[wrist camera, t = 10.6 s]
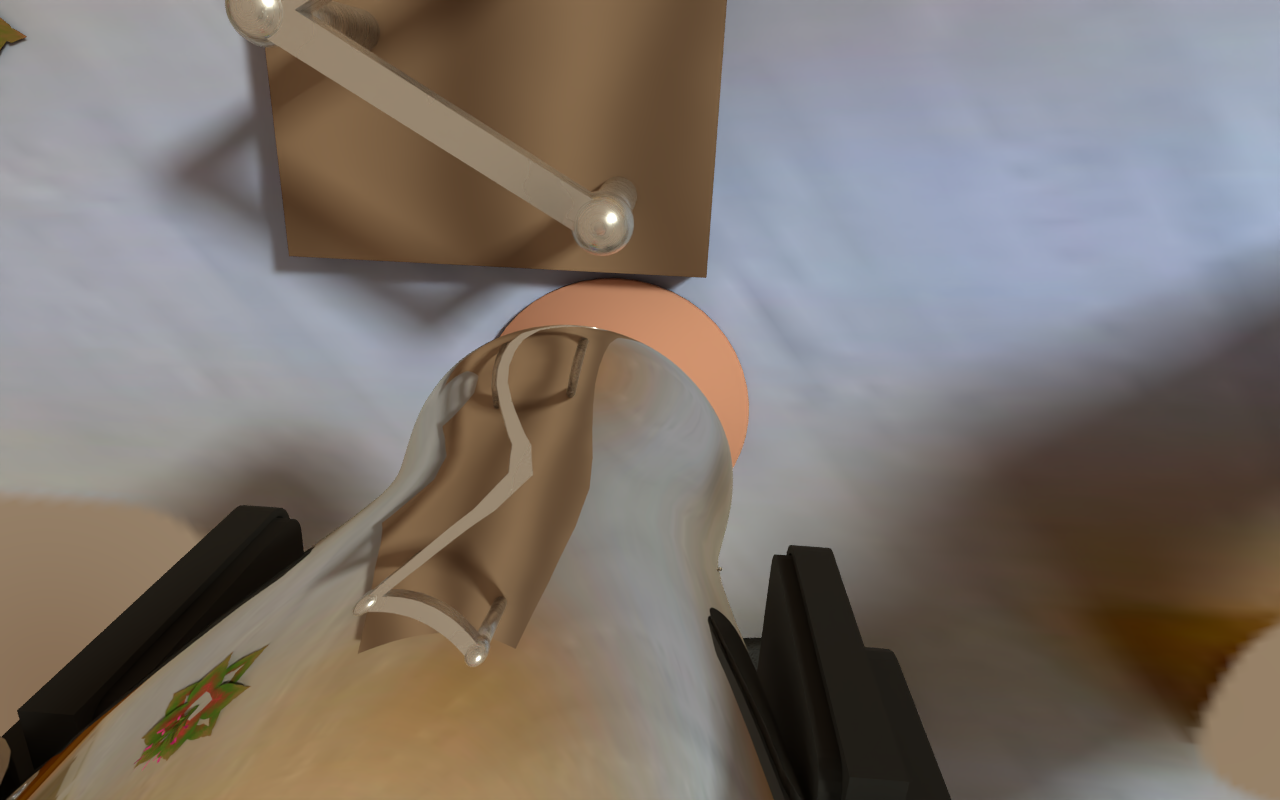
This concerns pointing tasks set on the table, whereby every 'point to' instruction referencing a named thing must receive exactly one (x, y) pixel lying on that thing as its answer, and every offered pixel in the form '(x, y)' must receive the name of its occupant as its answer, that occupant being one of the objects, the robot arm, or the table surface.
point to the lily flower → (8, 33)
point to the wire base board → (510, 133)
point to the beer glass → (481, 617)
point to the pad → (655, 337)
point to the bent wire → (433, 113)
